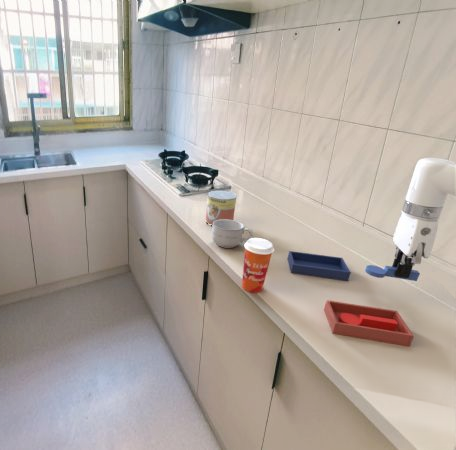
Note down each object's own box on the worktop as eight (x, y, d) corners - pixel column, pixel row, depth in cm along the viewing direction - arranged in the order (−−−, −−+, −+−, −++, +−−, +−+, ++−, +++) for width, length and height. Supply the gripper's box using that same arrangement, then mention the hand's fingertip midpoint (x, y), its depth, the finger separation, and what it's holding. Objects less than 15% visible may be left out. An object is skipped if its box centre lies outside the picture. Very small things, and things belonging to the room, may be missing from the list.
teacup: (205, 245, 119) (207, 224, 116) (218, 234, 127) (220, 215, 124) (242, 257, 112) (246, 235, 109) (254, 245, 120) (257, 225, 117)
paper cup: (236, 291, 94) (243, 246, 88) (240, 277, 100) (247, 234, 95) (265, 298, 91) (274, 252, 86) (267, 283, 98) (276, 240, 92)
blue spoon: (411, 275, 91) (414, 267, 90) (419, 284, 87) (422, 276, 86) (362, 267, 93) (365, 260, 93) (368, 276, 89) (371, 268, 88)
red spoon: (389, 323, 82) (392, 315, 81) (397, 336, 78) (401, 328, 77) (336, 315, 85) (338, 307, 84) (341, 327, 81) (343, 319, 80)
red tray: (393, 320, 84) (397, 310, 83) (409, 346, 76) (414, 336, 75) (323, 309, 87) (326, 300, 86) (332, 333, 79) (335, 323, 78)
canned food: (199, 221, 139) (202, 193, 134) (216, 215, 146) (219, 188, 141) (221, 230, 131) (225, 201, 126) (238, 223, 138) (242, 195, 133)
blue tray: (340, 265, 109) (342, 257, 108) (348, 281, 100) (350, 272, 99) (287, 258, 112) (289, 250, 111) (290, 273, 104) (292, 264, 102)
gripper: (457, 223, 75) (430, 293, 82) (423, 201, 89) (402, 262, 96) (419, 219, 76) (395, 288, 83) (391, 198, 90) (373, 259, 98)
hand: (399, 274), depth 90 cm, fingers closed on blue spoon, 1 cm apart
